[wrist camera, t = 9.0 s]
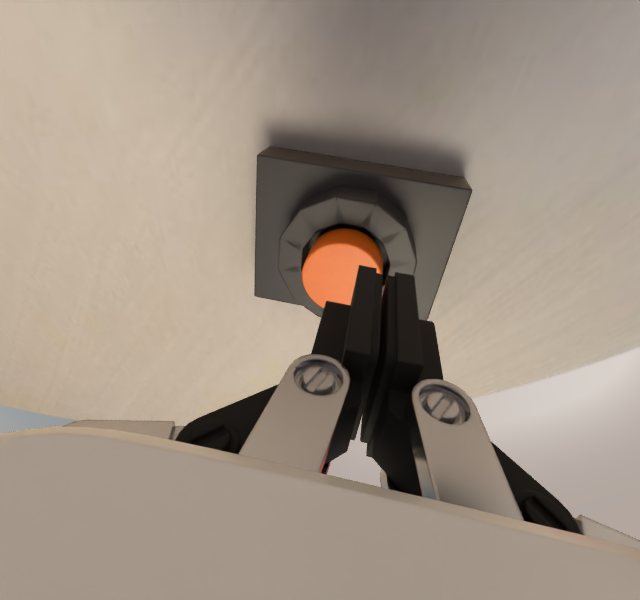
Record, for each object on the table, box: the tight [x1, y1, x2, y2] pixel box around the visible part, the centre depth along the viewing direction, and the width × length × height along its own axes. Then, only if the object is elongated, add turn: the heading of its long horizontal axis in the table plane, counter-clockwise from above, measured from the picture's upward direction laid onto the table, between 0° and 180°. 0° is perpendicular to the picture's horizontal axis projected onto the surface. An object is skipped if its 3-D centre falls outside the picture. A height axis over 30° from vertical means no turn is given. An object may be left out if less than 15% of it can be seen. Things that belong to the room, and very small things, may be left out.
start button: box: [302, 228, 383, 308], centre depth 17 cm, size 4×4×2 cm
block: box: [255, 147, 472, 321], centre depth 19 cm, size 10×8×4 cm
